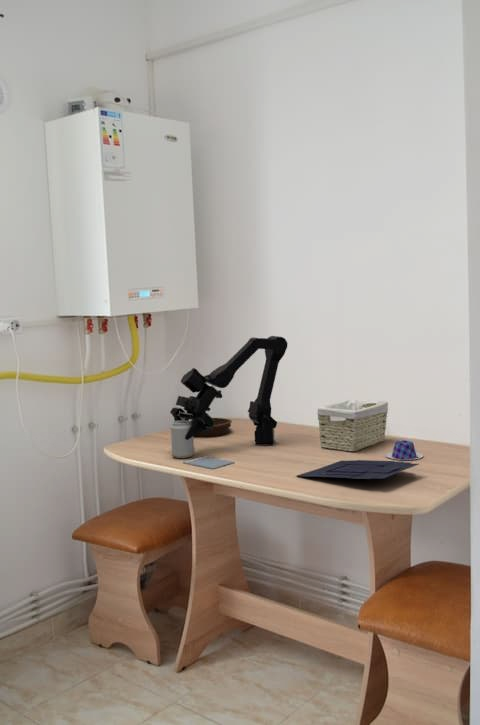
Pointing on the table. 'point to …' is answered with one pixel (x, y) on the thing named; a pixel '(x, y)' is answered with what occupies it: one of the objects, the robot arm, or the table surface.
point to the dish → (216, 428)
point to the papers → (360, 469)
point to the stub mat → (208, 462)
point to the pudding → (404, 451)
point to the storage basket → (352, 424)
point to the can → (181, 439)
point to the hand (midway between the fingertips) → (179, 437)
